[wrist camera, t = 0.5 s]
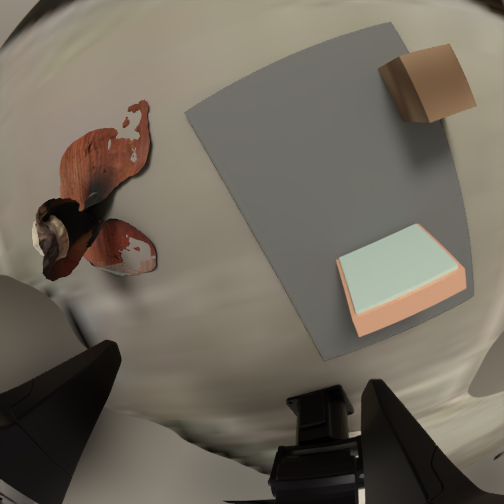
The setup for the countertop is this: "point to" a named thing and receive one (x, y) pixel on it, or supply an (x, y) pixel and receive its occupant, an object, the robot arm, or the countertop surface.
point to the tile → (398, 278)
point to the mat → (333, 174)
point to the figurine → (87, 194)
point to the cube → (428, 84)
